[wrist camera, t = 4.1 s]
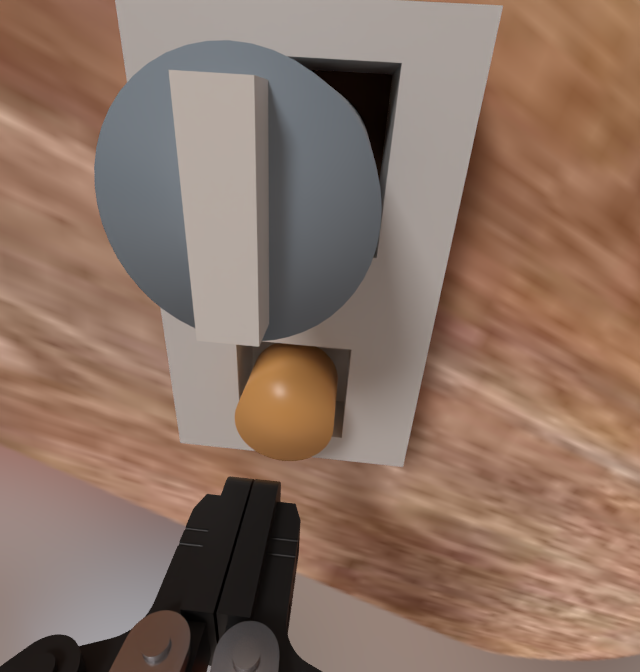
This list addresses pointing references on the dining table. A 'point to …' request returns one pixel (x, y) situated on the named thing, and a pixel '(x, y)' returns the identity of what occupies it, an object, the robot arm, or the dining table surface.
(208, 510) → the robot arm
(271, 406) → the orange rounded piece
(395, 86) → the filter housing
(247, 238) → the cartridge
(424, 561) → the dining table surface
